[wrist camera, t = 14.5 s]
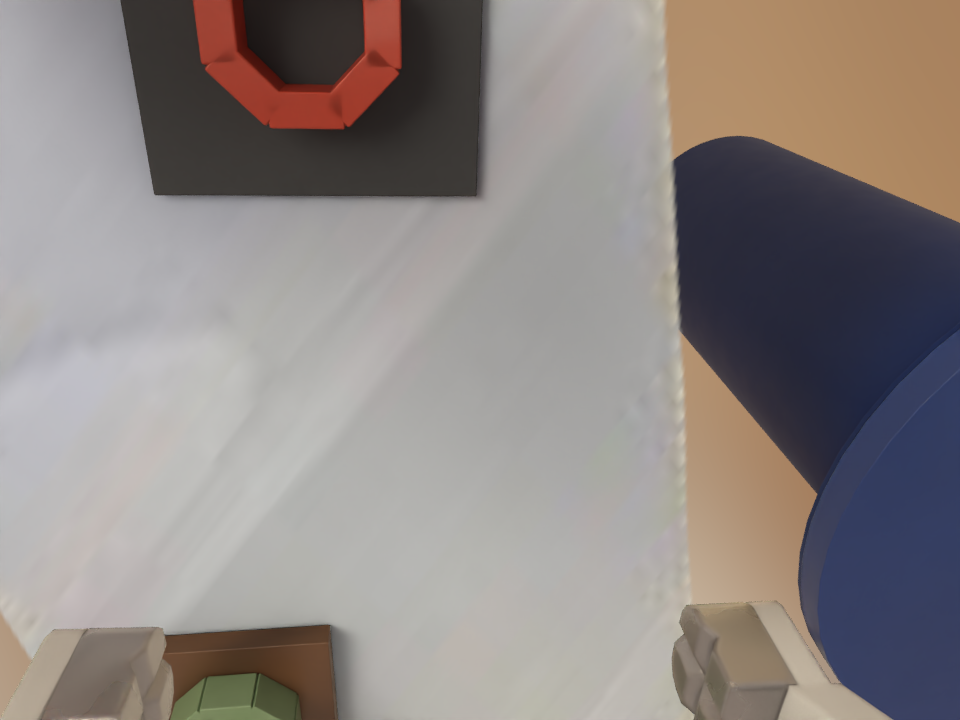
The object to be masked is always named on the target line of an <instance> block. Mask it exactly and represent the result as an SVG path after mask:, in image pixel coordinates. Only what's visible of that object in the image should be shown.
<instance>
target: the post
mask: <svg viewBox="0 0 960 720" xmlns="http://www.w3.org/2000/svg"><path fill="white" fill-rule="evenodd" d="M165 640H166V644H167V645H166V648H165V651H164V653H163V656H162V659H164V660H165V661H166V662H167V663H169V664H170V665H171V667H172V673H173V682H174V694H173V701H172V708H171V714H170V717H169V720H170V719H171V715H172V712H173V708H174V705H175V702H176V701H178V700H179V699H180V698H181V697H182V696H184V695H185V694H186V693H187V692H188V691H189V690H191V689H192V688H193V687H194V686H195V685H197V684H198V683H199V682H200V681H201V680H202V679H204V678H208V677H209V676H221V675H235V674H248V673H257V675H258V674H260V673H261V674H262V675H264V676H266V677H268V678H270V679H272V680H274V681H275V682H277V683H279V684H281V685H283V686H285V687H287V688H288V689H290V690H292V691H294V692H296V693H297V695H299V702H300V711H301V719H302V720H338V714H337V702H336V690H335V678H334V666H333V655H332V643H331V631H330V625H321V626H306V627H291V628H276V629H261V630H246V631H231V632H216V633H201V634H186V635H171V636H165Z"/></svg>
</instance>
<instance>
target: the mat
mask: <svg viewBox="0 0 960 720" xmlns="http://www.w3.org/2000/svg"><path fill="white" fill-rule="evenodd" d="M482 3H483V0H401V47H402V68H401V69H399V73H400V74H399V75H398V77H397V78H396V79H395V80H394V81H393V82H392V83H391V84H390V85H389V86H388V87H387V88H386V89H385V90H384V91H383V92H382V93H381V95H380V96H379V97H378V98H377V99H376V100H375V101H374V102H373V103H372V104H371V105H370V106H369V107H368V108H367V109H366V110H365V111H364V113H363V114H362V115H361V116H360V117H359V118H358V119H357V120H356V121H355V122H354V123H353V124H352V125H351V126H350V127H347V126H345V129H272V128H270V126H269V124H268V125H263V124H262V123H261V122H260V121H259V120H258V119H257V118H256V117H255V116H254V115H253V114H252V113H250V112H249V111H248V110H247V109H246V108H245V107H244V106H243V105H242V104H241V103H240V102H239V101H238V100H236V99H235V98H234V97H233V96H232V95H231V94H230V93H229V92H228V91H227V90H226V89H225V88H224V87H222V86H221V85H220V84H219V83H218V82H217V81H216V80H215V79H214V78H213V77H212V76H211V75H210V74H208V73H207V72H206V70H205V67H206V66H207V65H204V64H202V62H201V58H200V51H199V43H198V36H197V28H196V21H195V13H194V6H193V0H121V6H122V11H123V17H124V23H125V29H126V34H127V40H128V46H129V52H130V57H131V63H132V69H133V75H134V80H135V86H136V92H137V98H138V103H139V109H140V115H141V121H142V126H143V132H144V138H145V144H146V149H147V155H148V161H149V167H150V172H151V178H152V184H153V190H154V194H155V195H301V196H476V187H477V156H478V126H479V95H480V64H481V34H482ZM243 8H244V17H245V27H246V36H247V46H248V48H249V49H250V50H251V51H253V52H254V53H255V54H256V55H257V56H258V57H259V58H260V59H261V60H262V61H263V62H264V63H265V64H266V65H267V66H268V67H269V68H270V69H271V70H272V71H273V72H274V73H275V74H276V75H277V76H278V77H279V78H280V79H281V80H282V81H283V82H284V83H285V84H319V85H334V84H335V83H336V82H337V81H338V80H339V78H340V77H341V76H342V75H343V74H344V73H345V72H346V71H347V70H348V69H349V68H350V67H351V65H352V64H353V63H354V62H355V61H356V60H357V59H358V58H359V57H360V56H361V55H362V53H363V52H364V51H365V49H364V22H363V0H243Z"/></svg>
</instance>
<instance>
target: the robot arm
mask: <svg viewBox="0 0 960 720" xmlns="http://www.w3.org/2000/svg"><path fill="white" fill-rule="evenodd" d="M679 623H680V625H681V627H682V630H683V632H684V634H683V635H682V636H681V637H680V638H679V639H678V640H677V641H676V642H675V643H674V648H673V654H672V671H673V678H674V683H675V687H676V690H677V693H678V696H679V698H680V701H681V703H682V704H683V705H684V706H685V707H686V708H688V709H689V710H690V711H691V712H692V713H694V714H695V716H694V720H893V719H891V718H890V717H889V716H887V715H886V714H884V713H883V712H881V711H880V710H878V709H877V708H875V707H874V706H873V705H871V704H870V703H868V702H867V701H865V700H864V699H862V698H861V697H860V696H858V695H857V694H855V693H854V692H852V691H851V690H849V689H848V688H847V687H845V686H844V685H842V684H841V683H831V682H830V680H829V679H828V677H827V676H826V674H825V673H824V671H823V669H822V668H821V667H820V665H819V663H818V661H817V660H816V658H815V657H814V655H813V654H812V652H811V650H810V649H809V647H808V645H807V644H806V642H805V641H804V639H803V638H802V636H801V634H800V633H799V631H798V630H797V628H796V626H795V625H794V623H793V622H792V620H791V619H790V617H789V615H788V614H787V612H786V611H785V609H784V607H783V606H782V605H781V604H780V603H778V602H777V601H760V602H746V603H743V602H737V603H717V604H697V605H686V607H685V608H684V609H683V610H682V614H681V618H680V622H679ZM166 645H167V644H166V640H165V636H164V632H163V629H162V628H158V627H136V628H89V629H54V630H53V631H52V632H51V633H50V634H49V635H47V636H46V637H45V638H44V640H43V642H42V643H41V645H40V647H39V649H38V651H37V652H36V654H35V656H34V658H33V660H32V662H31V663H30V665H29V667H28V669H27V671H26V672H25V674H24V676H23V678H22V680H21V681H20V683H19V685H18V687H17V689H16V690H15V692H14V694H13V696H12V698H11V700H10V701H9V703H8V705H7V707H6V708H5V710H4V712H3V714H2V716H1V718H0V720H169V717H170V714H171V708H172V701H173V694H174V682H173V673H172V667H171V665H170V664H169V663H167V662H166V661H165V660H164V659H162V656H163V653H164V651H165V648H166Z"/></svg>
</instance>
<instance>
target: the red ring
mask: <svg viewBox="0 0 960 720" xmlns="http://www.w3.org/2000/svg"><path fill="white" fill-rule="evenodd" d="M193 6H194V13H195V21H196V28H197V36H198V43H199V51H200V58H201V62H202V64H204V65H207V66H206V67H205V70H206V72H207V73H208V74H210V75H211V76H212V77H213V78H214V79H215V80H216V81H217V82H218V83H219V84H220V85H221V86H222V87H224V88H225V89H226V90H227V91H228V92H229V93H230V94H231V95H232V96H233V97H234V98H235V99H236V100H238V101H239V102H240V103H241V104H242V105H243V106H244V107H245V108H246V109H247V110H248V111H249V112H250V113H252V114H253V115H254V116H255V117H256V118H257V119H258V120H259V121H260V122H261V123H262V124H263V125H268V124H269V126H270V128H272V129H345V126H347V127H350V126H351V125H352V124H353V123H354V122H355V121H356V120H357V119H358V118H359V117H360V116H361V115H362V114H363V113H364V111H365V110H366V109H367V108H368V107H369V106H370V105H371V104H372V103H373V102H374V101H375V100H376V99H377V98H378V97H379V96H380V95H381V93H382V92H383V91H384V90H385V89H386V88H387V87H388V86H389V85H390V84H391V83H392V82H393V81H394V80H395V79H396V78H397V77H398V75H399V74H400V73H399V69H401V68H402V47H401V0H363V22H364V49H365V51H364V52H363V53H362V55H361V56H360V57H359V58H358V59H357V60H356V61H355V62H354V63H353V64H352V65H351V67H350V68H349V69H348V70H347V71H346V72H345V73H344V74H343V75H342V76H341V77H340V78H339V80H338V81H337V82H336V83H335V84H334V85H319V84H285V83H284V82H283V81H282V80H281V79H280V78H279V77H278V76H277V75H276V74H275V73H274V72H273V71H272V70H271V69H270V68H269V67H268V66H267V65H266V64H265V63H264V62H263V61H262V60H261V59H260V58H259V57H258V56H257V55H256V54H255V53H254V52H253V51H251V50H250V49H249V48H248V46H247V36H246V27H245V17H244V8H243V0H193Z"/></svg>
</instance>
